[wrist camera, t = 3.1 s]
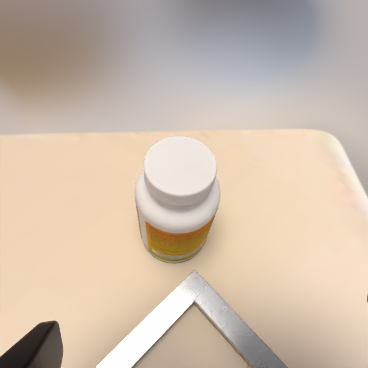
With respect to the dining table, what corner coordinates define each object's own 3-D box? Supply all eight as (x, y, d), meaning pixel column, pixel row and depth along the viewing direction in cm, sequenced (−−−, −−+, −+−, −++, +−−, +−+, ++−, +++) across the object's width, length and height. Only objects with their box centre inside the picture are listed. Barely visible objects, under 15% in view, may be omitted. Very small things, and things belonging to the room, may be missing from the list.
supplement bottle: (218, 241, 23) (251, 177, 15) (162, 277, 21) (164, 227, 13) (182, 193, 25) (193, 113, 17) (129, 222, 23) (112, 148, 15)
